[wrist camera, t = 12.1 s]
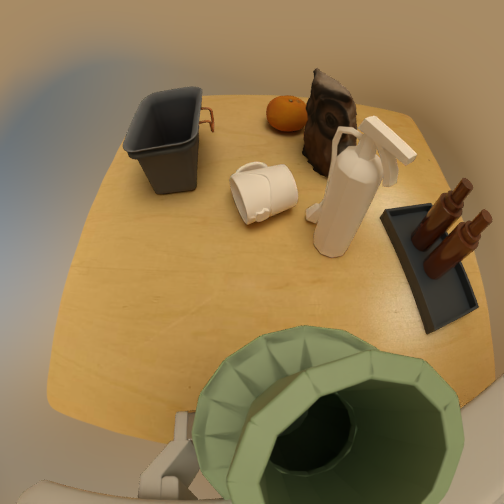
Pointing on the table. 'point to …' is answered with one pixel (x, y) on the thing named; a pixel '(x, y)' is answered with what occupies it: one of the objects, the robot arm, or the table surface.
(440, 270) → the bottle row
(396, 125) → the table surface
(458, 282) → the tray
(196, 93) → the storage bin
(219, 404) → the green bottle
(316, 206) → the fire extinguisher
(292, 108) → the fruit
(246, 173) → the mug
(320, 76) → the brown rock chunk
